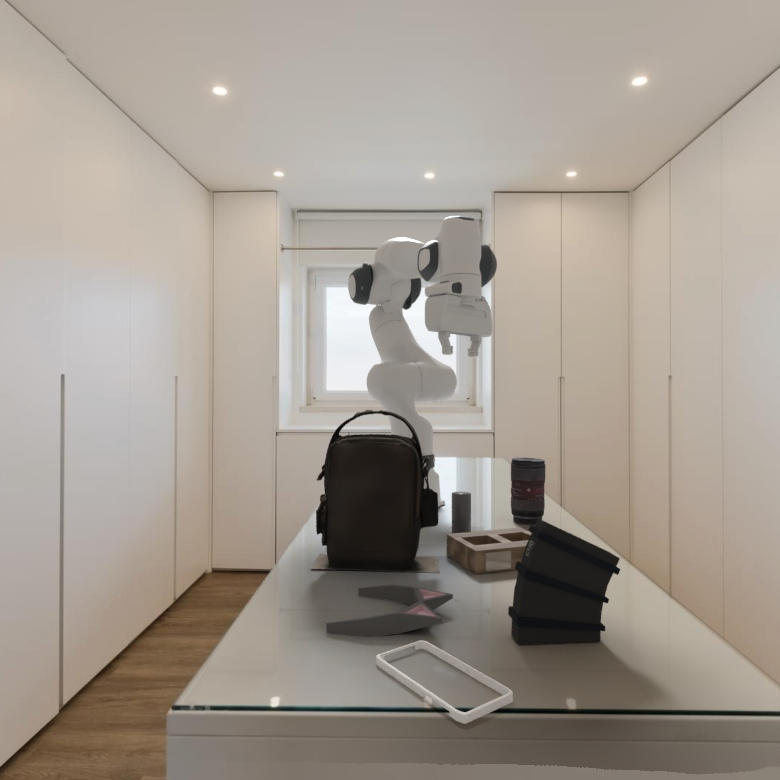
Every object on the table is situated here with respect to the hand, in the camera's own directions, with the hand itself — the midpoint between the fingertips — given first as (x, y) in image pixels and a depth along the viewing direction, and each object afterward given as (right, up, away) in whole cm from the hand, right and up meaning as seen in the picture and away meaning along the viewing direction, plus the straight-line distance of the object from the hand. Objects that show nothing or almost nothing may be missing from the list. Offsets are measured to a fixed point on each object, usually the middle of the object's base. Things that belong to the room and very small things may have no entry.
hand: (460, 355), depth 122 cm
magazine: (+7, -39, -50) cm, 64 cm away
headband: (-15, -39, -43) cm, 60 cm away
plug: (0, -39, -4) cm, 39 cm away
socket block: (+5, -39, -17) cm, 43 cm away
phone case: (-10, -40, -60) cm, 73 cm away
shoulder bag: (-18, -39, -19) cm, 47 cm away
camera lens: (+18, -39, +14) cm, 45 cm away
